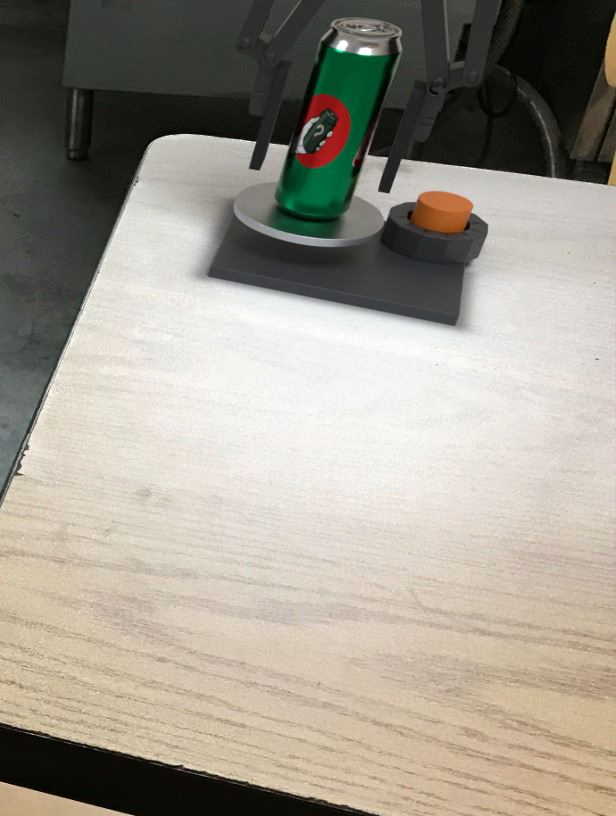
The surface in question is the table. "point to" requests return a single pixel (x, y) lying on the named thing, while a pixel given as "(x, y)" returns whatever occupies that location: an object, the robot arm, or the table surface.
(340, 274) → the scale
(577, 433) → the table surface
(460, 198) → the tare button
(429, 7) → the robot arm
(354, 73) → the soda can
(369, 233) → the weighing pan
